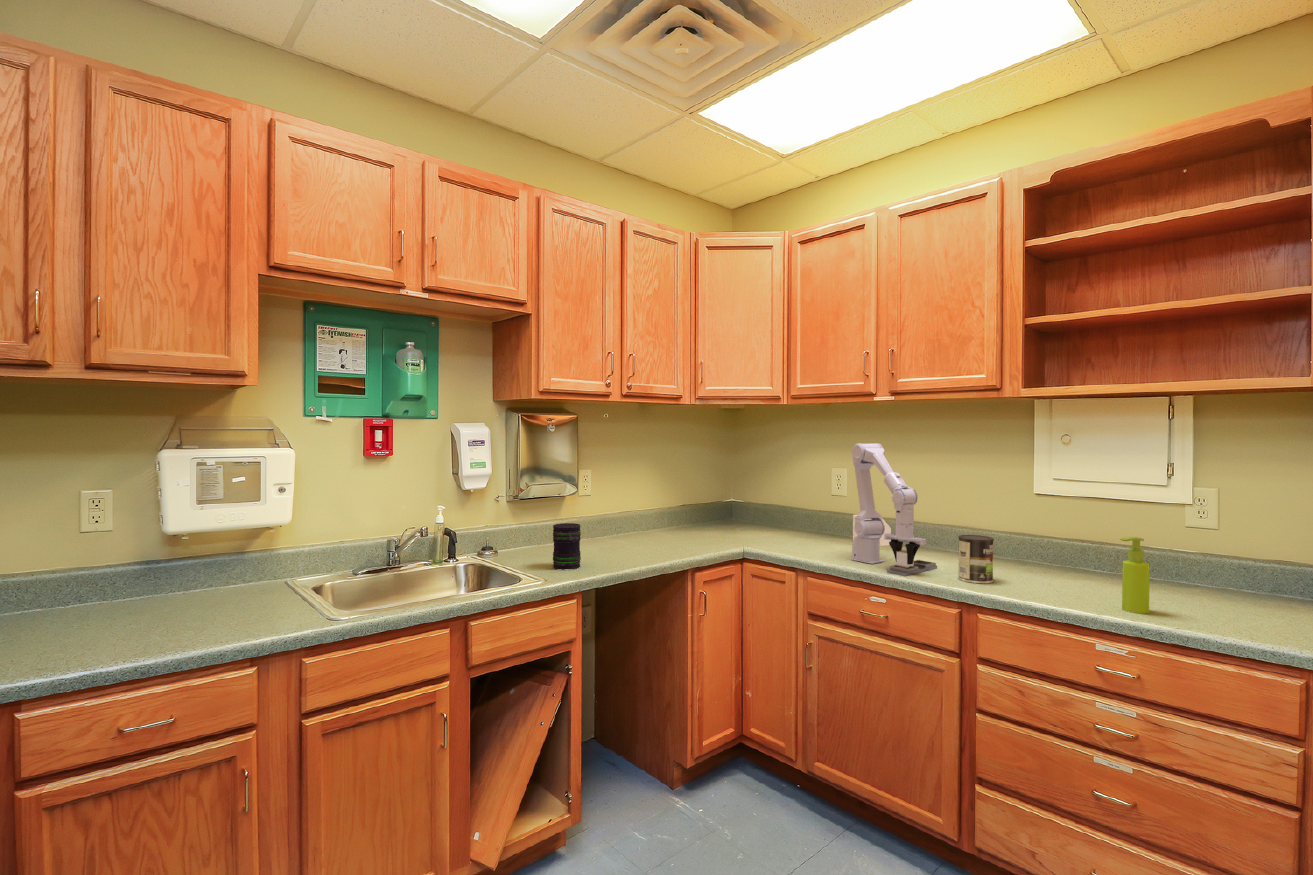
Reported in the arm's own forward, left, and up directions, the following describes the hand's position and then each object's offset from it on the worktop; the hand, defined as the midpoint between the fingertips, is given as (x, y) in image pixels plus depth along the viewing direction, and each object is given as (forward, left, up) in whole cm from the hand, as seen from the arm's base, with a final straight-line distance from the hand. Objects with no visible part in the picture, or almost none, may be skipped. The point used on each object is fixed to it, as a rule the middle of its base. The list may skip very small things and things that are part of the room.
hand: (904, 562), depth 216 cm
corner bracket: (-39, +38, -3) cm, 55 cm away
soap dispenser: (+63, +9, -3) cm, 64 cm away
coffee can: (+20, +9, -3) cm, 22 cm away
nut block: (0, +1, -2) cm, 2 cm away
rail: (0, +5, -3) cm, 6 cm away
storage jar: (-76, -90, -3) cm, 118 cm away
